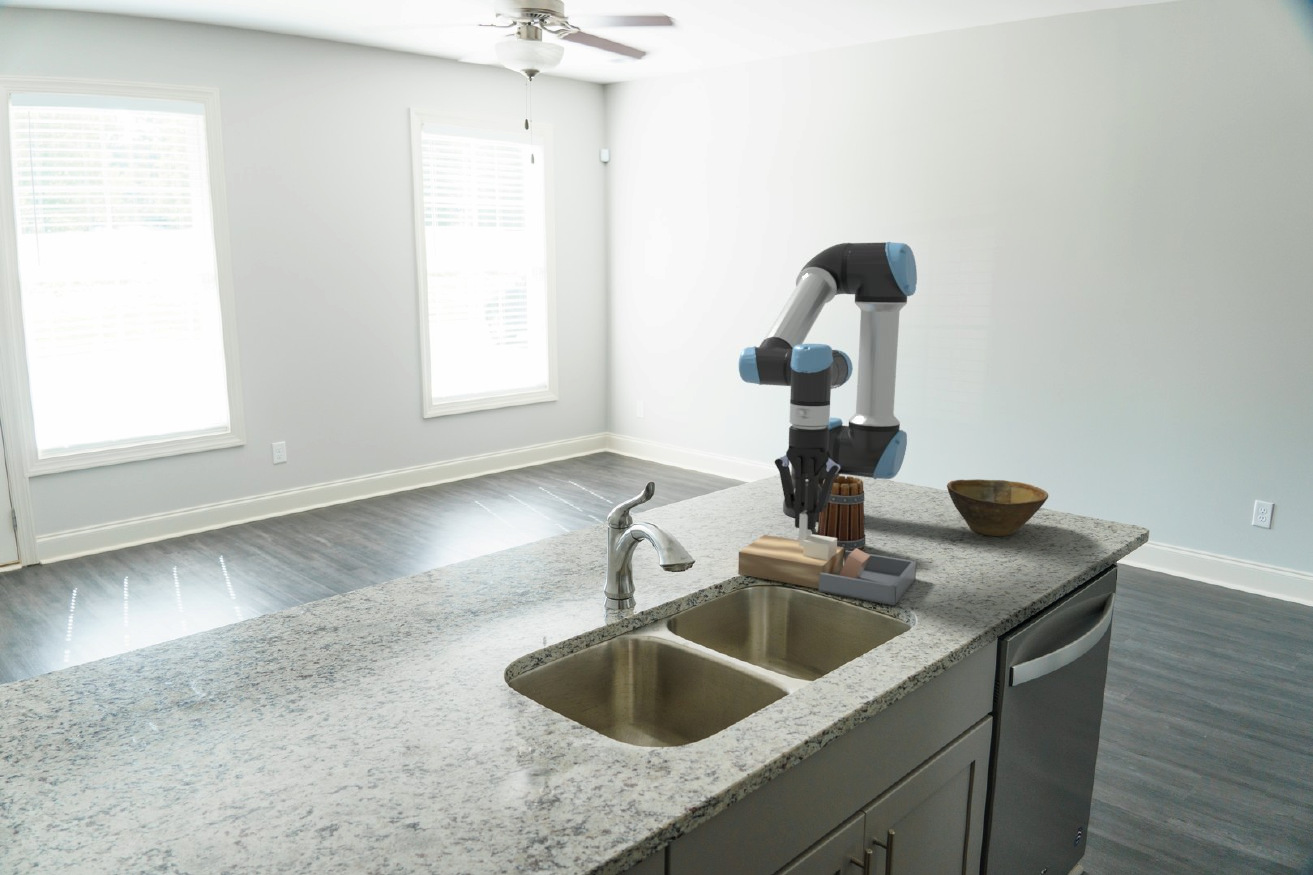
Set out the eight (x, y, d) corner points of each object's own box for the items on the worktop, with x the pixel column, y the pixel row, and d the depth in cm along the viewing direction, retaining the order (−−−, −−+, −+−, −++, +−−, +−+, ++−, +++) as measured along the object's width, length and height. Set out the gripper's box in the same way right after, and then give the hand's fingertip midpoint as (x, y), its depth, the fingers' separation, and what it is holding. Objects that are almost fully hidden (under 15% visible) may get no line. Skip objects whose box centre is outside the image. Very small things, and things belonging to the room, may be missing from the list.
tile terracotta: (856, 547, 170) (870, 555, 169) (845, 569, 172) (859, 577, 171) (848, 555, 166) (862, 563, 165) (837, 577, 168) (852, 585, 167)
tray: (845, 566, 178) (845, 550, 177) (915, 578, 171) (916, 561, 171) (818, 591, 164) (819, 573, 164) (894, 605, 158) (895, 586, 157)
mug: (862, 541, 195) (865, 475, 192) (868, 556, 185) (872, 486, 182) (790, 538, 196) (792, 473, 194) (792, 554, 186) (795, 484, 183)
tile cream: (812, 548, 175) (812, 534, 174) (836, 552, 173) (837, 538, 172) (803, 555, 171) (803, 540, 170) (828, 560, 168) (828, 544, 168)
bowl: (1053, 526, 207) (1056, 484, 205) (1035, 552, 188) (1039, 506, 186) (957, 512, 218) (960, 472, 217) (931, 535, 200) (934, 492, 198)
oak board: (763, 555, 185) (764, 534, 184) (842, 568, 177) (843, 547, 176) (738, 573, 174) (738, 551, 173) (821, 589, 166) (822, 566, 165)
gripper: (769, 425, 168) (766, 544, 173) (835, 432, 162) (830, 555, 167) (784, 419, 175) (780, 534, 179) (848, 425, 168) (842, 544, 173)
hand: (804, 544), depth 173 cm, fingers closed
